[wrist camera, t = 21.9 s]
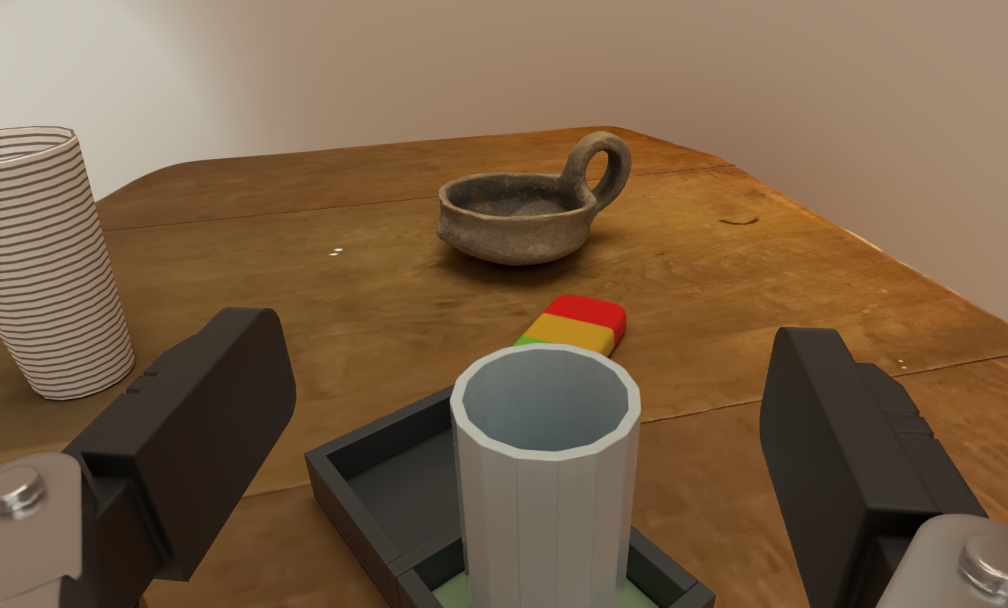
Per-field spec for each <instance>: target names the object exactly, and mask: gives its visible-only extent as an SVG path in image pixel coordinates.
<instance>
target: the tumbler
mask: <svg viewBox="0 0 1008 608" xmlns="http://www.w3.org/2000/svg"><path fill="white" fill-rule="evenodd" d="M450 411H451V422H452V433H453V444H454V456H455V467H456V478H457V489H458V500H459V511H460V522H461V533H462V544H463V555H464V567H465V578H466V589H467V600H468V608H623V604H624V593H625V582H626V572H627V561H628V550H629V540H630V529H631V518H632V507H633V497H634V486H635V475H636V464H637V454H638V443H639V432H640V421H641V400H640V390H639V387H638V386H637V385H636V383H635V382H634V381H633V379H632V378H631V377H630V375H629V374H628V373H627V371H626V370H625V369H624V368H623V367H622V366H620V365H618V364H617V363H615V362H613V361H612V360H610V359H608V358H607V357H605V356H603V355H602V354H600V353H598V352H594V351H591V350H587V349H583V348H580V347H576V346H573V345H568V344H552V343H531V344H525V345H519V346H513V347H507V348H504V349H500V350H498V351H496V352H494V353H491V354H489V355H487V356H485V357H483V358H480V359H478V360H477V361H475V362H474V363H473V364H472V365H471V366H470V367H469V368H467V369H466V370H465V371H464V372H463V373H462V374H461V375H460V376H459V377H458V378H457V380H456V383H455V386H454V389H453V392H452V395H451V398H450Z"/></svg>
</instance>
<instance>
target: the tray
mask: <svg viewBox="0 0 1008 608" xmlns="http://www.w3.org/2000/svg"><path fill="white" fill-rule="evenodd" d="M454 386H455V384H454V385H451V386H449V387H447V388H445V389H443V390H441V391H439V392H436V393H434V394H432V395H430V396H428V397H426V398H423V399H421V400H419V401H417V402H415V403H413V404H410V405H408V406H406V407H404V408H402V409H400V410H397V411H395V412H393V413H391V414H389V415H387V416H385V417H382V418H380V419H378V420H376V421H374V422H372V423H369V424H367V425H365V426H363V427H361V428H359V429H356V430H354V431H352V432H350V433H348V434H346V435H343V436H341V437H339V438H337V439H335V440H333V441H331V442H328V443H326V444H324V445H322V446H320V447H318V448H315V449H313V450H311V451H309V452H307V453H305V454H304V455H305V460H306V464H307V468H308V472H309V476H310V480H311V484H312V487H313V492H314V496H315V498H316V500H317V501H318V503H319V504H320V506H321V507H322V508H323V510H324V511H325V513H326V514H327V516H328V517H329V518H330V520H331V521H332V523H333V524H334V526H335V527H336V528H337V530H338V531H339V533H340V534H341V536H342V537H343V538H344V540H345V541H346V543H347V544H348V546H349V547H350V549H351V550H352V551H353V553H354V554H355V556H356V557H357V559H358V560H359V561H360V563H361V564H362V566H363V567H364V569H365V570H366V571H367V573H368V574H369V576H370V577H371V579H372V580H373V582H374V583H375V584H376V586H377V587H378V589H379V590H380V592H381V593H382V594H383V596H384V597H385V599H386V600H387V602H388V603H389V604H390V606H391V607H392V608H468V600H467V589H466V578H465V567H464V555H463V544H462V533H461V522H460V511H459V500H458V489H457V478H456V467H455V456H454V444H453V433H452V422H451V411H450V398H451V395H452V392H453V389H454ZM715 598H716V595H715V594H714V593H713V592H712V591H711V590H709V589H708V588H707V587H706V586H705V585H703V584H702V583H701V582H698V580H697V579H696V578H694V577H693V576H692V575H691V574H690V573H688V572H687V571H686V570H685V569H684V568H682V567H681V566H680V565H679V564H677V563H676V562H675V561H674V560H673V559H671V558H670V557H669V556H668V555H666V554H665V553H664V552H663V551H662V550H660V549H659V548H658V547H657V546H656V545H654V544H653V543H652V542H651V541H649V540H648V539H647V538H646V537H645V536H643V535H642V534H641V533H640V532H638V531H637V530H636V529H635V528H634V527H632V526H631V529H630V540H629V550H628V561H627V572H626V582H625V593H624V604H623V608H714V603H715Z"/></svg>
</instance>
